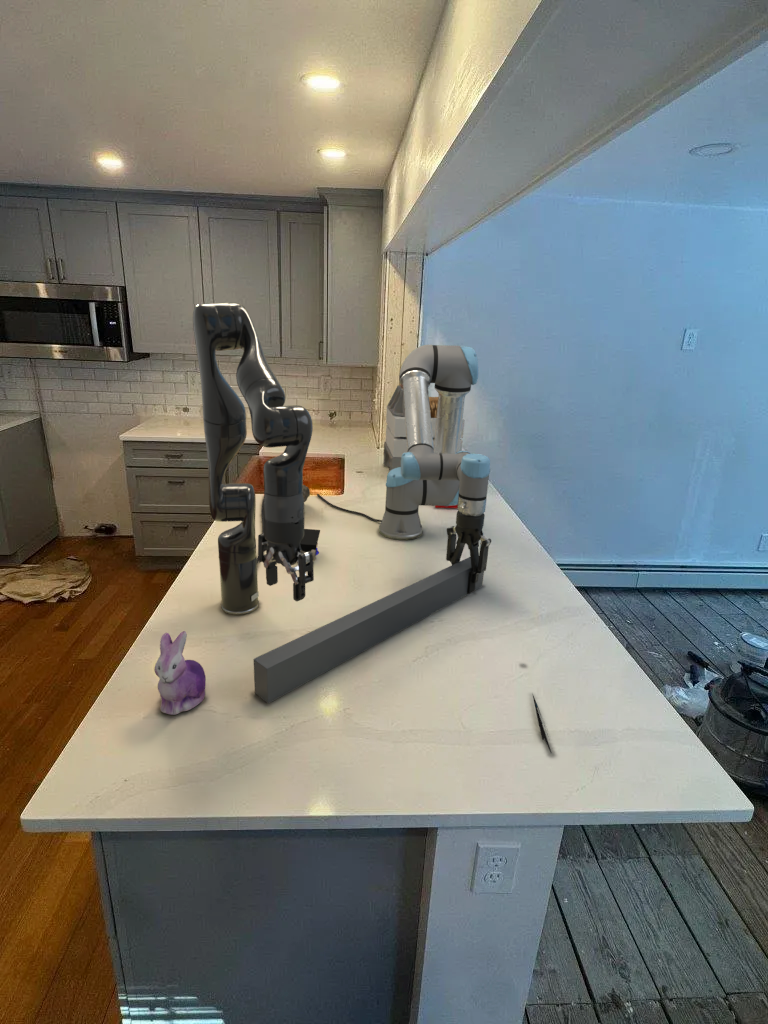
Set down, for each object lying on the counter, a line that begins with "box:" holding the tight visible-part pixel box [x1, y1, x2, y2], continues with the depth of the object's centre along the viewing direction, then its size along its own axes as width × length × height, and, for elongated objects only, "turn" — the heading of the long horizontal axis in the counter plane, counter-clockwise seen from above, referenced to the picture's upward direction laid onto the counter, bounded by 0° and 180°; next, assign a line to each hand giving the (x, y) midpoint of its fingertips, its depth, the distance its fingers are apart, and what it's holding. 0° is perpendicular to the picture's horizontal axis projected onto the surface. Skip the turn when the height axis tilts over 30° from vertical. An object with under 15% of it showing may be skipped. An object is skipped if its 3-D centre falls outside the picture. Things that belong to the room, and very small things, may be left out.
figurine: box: [153, 630, 207, 716], centre depth 109 cm, size 9×10×15 cm
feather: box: [522, 663, 555, 753], centre depth 115 cm, size 2×28×2 cm
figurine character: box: [300, 528, 321, 562], centre depth 176 cm, size 7×8×15 cm
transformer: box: [383, 384, 465, 471], centre depth 268 cm, size 34×33×41 cm
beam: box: [252, 556, 485, 704], centre depth 138 cm, size 75×5×8 cm, turn 137°
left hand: (285, 591), depth 111 cm, fingers open, 8 cm apart
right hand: (463, 588), depth 161 cm, fingers closed on beam, 5 cm apart
